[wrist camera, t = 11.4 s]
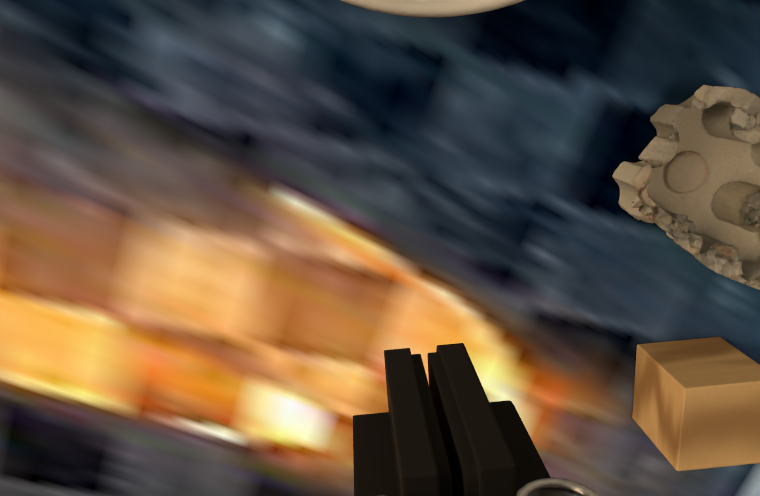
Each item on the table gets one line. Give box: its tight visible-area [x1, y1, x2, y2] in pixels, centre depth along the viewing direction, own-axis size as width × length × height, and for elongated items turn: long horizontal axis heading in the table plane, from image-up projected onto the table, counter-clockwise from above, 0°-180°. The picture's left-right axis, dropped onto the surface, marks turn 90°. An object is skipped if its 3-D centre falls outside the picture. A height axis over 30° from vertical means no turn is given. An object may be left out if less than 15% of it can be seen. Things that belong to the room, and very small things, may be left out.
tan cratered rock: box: [613, 85, 760, 290], centre depth 29 cm, size 11×8×4 cm
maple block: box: [632, 337, 760, 471], centre depth 32 cm, size 5×5×5 cm
